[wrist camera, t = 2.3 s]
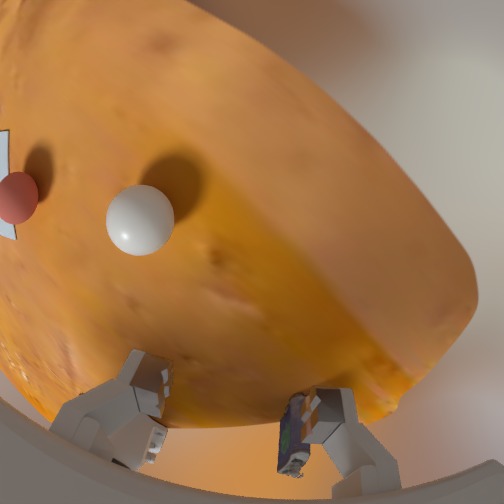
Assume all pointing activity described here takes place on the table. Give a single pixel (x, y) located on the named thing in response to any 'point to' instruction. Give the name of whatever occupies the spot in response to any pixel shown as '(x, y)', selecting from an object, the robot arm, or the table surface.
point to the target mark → (5, 229)
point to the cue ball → (140, 220)
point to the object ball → (17, 197)
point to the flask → (292, 439)
